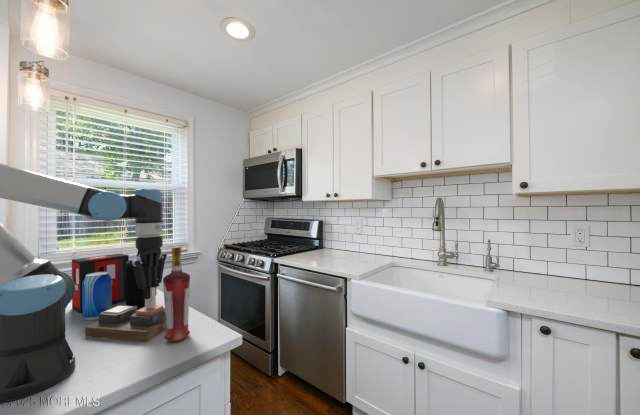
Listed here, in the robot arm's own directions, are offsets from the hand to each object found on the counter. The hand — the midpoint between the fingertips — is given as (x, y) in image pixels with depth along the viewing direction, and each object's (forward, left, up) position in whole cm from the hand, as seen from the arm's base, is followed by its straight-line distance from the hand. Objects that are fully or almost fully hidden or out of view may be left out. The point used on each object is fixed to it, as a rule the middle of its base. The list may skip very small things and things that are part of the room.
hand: (150, 307), depth 88 cm
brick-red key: (0, 0, -2) cm, 2 cm away
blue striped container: (+7, +29, -8) cm, 31 cm away
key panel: (0, +6, -8) cm, 10 cm away
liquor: (-4, -13, -8) cm, 16 cm away
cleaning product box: (+18, +40, -8) cm, 45 cm away
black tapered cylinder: (+16, +20, -8) cm, 27 cm away
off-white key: (0, +12, -3) cm, 12 cm away
